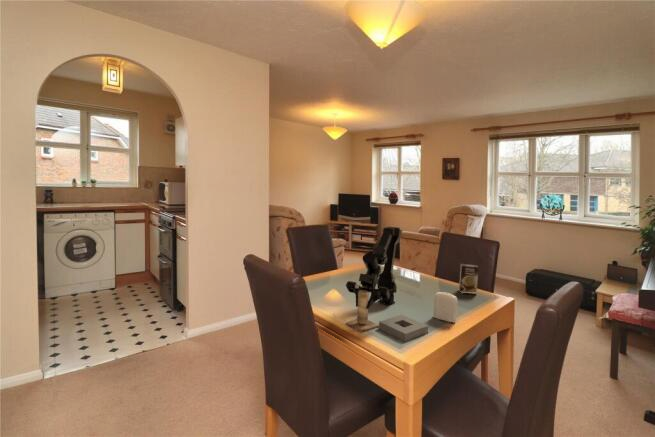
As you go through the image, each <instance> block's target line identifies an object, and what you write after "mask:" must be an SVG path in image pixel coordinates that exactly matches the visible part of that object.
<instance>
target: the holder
mask: <svg viewBox="0 0 655 437" xmlns="http://www.w3.org/2000/svg"><path fill="white" fill-rule="evenodd" d="M378 325H379V327H378V329H379V330H382V331H383V332H386V333H388V334H389V335H391V336H394V337H395V338H398V339H399V340H402V341H403V342H407V341H410V340H413V339H415V338H417V337H420V336H423V335H425V334H428V331H429V325H428V324H425V323H422V322H420V321H417V320H415V319H412V317H411V318H410V317H408V316H406V315H403V314H400V315H396V316H393V317H389V318H386V319H382V320H379V321H378Z"/></svg>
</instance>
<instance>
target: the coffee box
mask: <svg viewBox="0 0 655 437" xmlns="http://www.w3.org/2000/svg"><path fill="white" fill-rule="evenodd" d="M478 277H479V266H478V265H477V264H467V263H466V264H465V263H460V271H459V285H458V292H459V291H461V292H476V293H477V290H478V289H477V288H478V279H479V278H478Z"/></svg>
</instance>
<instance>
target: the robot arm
mask: <svg viewBox="0 0 655 437" xmlns="http://www.w3.org/2000/svg"><path fill="white" fill-rule="evenodd" d="M402 236H403V230H402V229H401V228H400V227H399V226H398V227H396V226H387V227H383V229H382V234H381V237H380V238H379V240H378V243H377V245H376V247H374V248H372V250H369V251H368V252H366V253H364V255H363V256H362V262H363V265H364V267H365V269H366V273H359V276H358V282H360V285H359V284H357V282H356V281H352V280H348V281H346V284H345V287H346V289H347V291H348V292H349V293H351V294H354V295H355V307H356V308H358V291H360V290H365V291H368V292H369V293H370V296H369V301H368V304H367V309H368V310H369V309H370V307H372V305H374V304H375V303H376V302H378V303H381V304H382V305H385V306H389V305H392V304H395V303H396V301H395V293H397V291H398V290H397V288H398V287H397V283H396V280H395V279H396V277H395V275H394V273H393V272H394V263H395V257H396V250H397V249H396V248H397V244H399V242H400V241H401V237H402ZM381 266H383V271H382V267H381ZM376 287H377V288H376Z"/></svg>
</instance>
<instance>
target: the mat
mask: <svg viewBox="0 0 655 437" xmlns="http://www.w3.org/2000/svg"><path fill="white" fill-rule="evenodd" d="M346 324H347V326H348V325H349V326H348V327H350V328H352V329H354V330H355V329H356V331H357V330H358V331H357V332H359V331H360V333H361V332H362V333H364V332H368V331H370V330H371V331H372V330H375V329H377V328H378V329H379V324H378V323H375V322H374V321H371V320H369V319H368V322H367V323H366V324H361V323H358V322H357V318H355V319H352V320H348V321H346V322H345V325H346Z"/></svg>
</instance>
